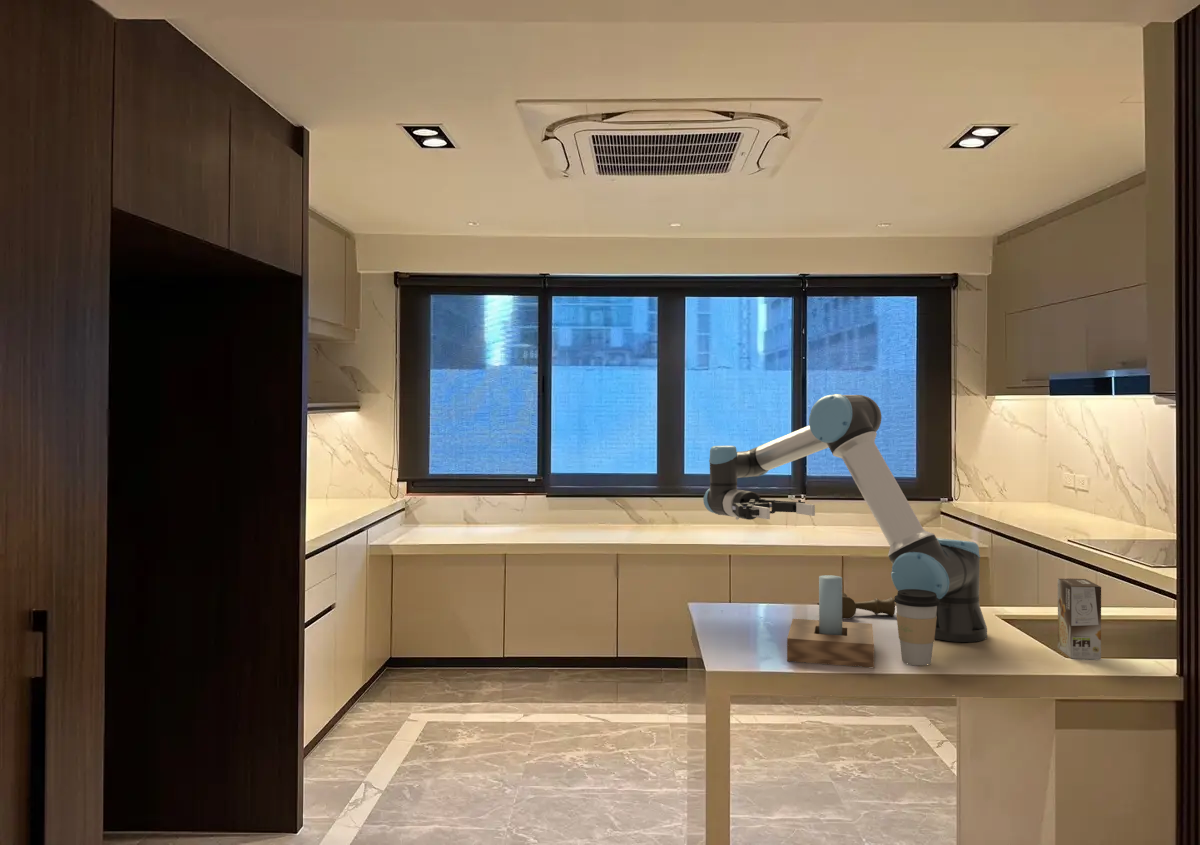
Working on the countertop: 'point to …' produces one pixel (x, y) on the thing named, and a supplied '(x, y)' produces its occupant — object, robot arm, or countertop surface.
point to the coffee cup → (916, 624)
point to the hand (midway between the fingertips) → (791, 511)
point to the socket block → (831, 644)
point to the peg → (830, 605)
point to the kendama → (867, 606)
